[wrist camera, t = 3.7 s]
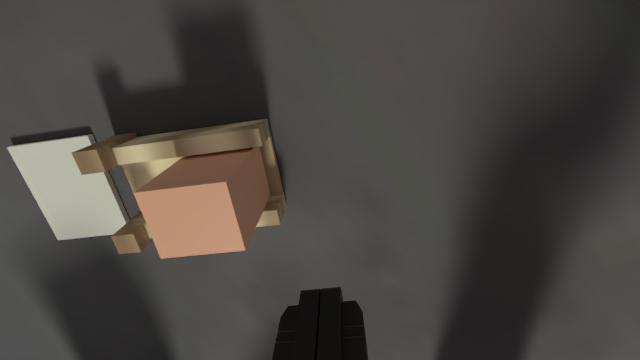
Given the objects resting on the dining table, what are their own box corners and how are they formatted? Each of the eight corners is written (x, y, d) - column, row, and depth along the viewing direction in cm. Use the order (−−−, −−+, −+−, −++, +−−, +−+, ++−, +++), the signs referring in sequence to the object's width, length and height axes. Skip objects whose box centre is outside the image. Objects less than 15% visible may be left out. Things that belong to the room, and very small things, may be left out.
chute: (266, 113, 27) (251, 127, 22) (287, 209, 30) (278, 238, 26) (114, 135, 28) (71, 152, 24) (150, 223, 32) (119, 254, 27)
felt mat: (92, 133, 28) (87, 135, 28) (133, 229, 32) (130, 232, 32) (13, 145, 29) (6, 147, 29) (62, 237, 33) (58, 240, 32)
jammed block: (258, 141, 27) (225, 181, 19) (270, 194, 29) (245, 250, 21) (191, 150, 27) (133, 192, 20) (207, 201, 29) (160, 258, 22)
